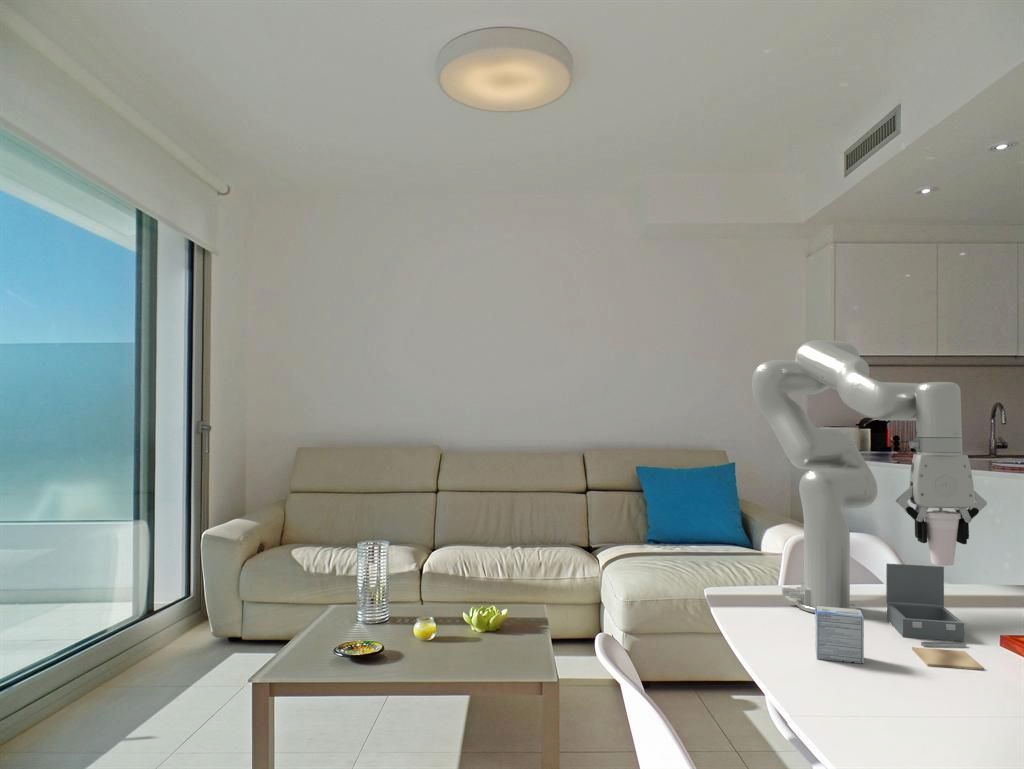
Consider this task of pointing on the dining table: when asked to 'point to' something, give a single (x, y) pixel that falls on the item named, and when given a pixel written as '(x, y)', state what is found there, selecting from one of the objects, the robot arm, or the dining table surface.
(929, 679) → the dining table surface
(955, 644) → the rod
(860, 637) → the medicine box
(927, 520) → the smoothie
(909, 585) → the case
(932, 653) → the pad
